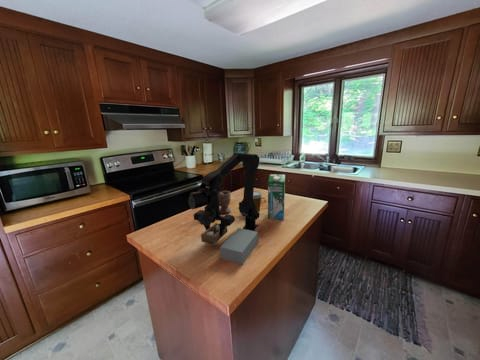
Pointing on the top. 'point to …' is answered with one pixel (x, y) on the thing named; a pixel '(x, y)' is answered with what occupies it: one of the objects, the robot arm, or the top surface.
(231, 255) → the grey shelf
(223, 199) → the mortar and pestle
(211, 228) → the walnut tray
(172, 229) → the top surface
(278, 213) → the milk carton
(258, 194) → the disposable coffee cup
